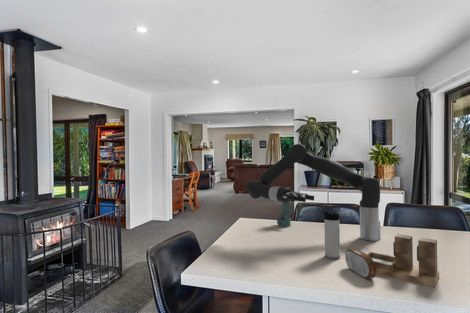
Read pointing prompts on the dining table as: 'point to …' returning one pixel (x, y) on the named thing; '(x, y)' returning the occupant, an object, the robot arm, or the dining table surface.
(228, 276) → the dining table surface
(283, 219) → the teal textured tall figure
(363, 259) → the tin
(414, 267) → the brown wooden piece
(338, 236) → the travel mug
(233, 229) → the dining table surface
